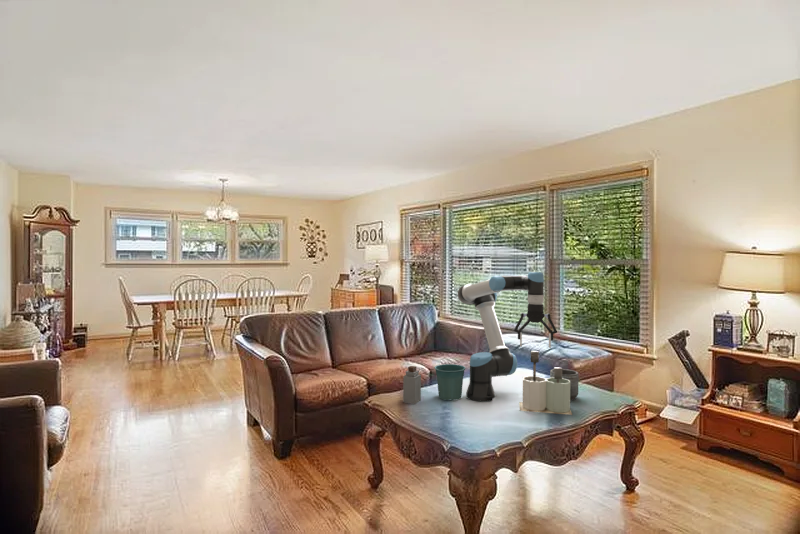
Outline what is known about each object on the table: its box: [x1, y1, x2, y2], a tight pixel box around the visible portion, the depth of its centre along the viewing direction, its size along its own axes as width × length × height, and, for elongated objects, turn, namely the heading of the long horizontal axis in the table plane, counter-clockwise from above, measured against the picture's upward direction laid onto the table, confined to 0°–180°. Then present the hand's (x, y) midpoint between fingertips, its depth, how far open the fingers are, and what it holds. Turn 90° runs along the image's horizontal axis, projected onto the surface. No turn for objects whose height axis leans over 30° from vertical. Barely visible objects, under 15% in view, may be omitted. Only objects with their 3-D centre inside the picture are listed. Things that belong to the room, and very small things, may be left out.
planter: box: [549, 368, 580, 402], centre depth 248 cm, size 14×14×15 cm
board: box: [518, 401, 573, 416], centre depth 231 cm, size 24×14×1 cm, turn 76°
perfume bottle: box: [402, 365, 422, 405], centre depth 244 cm, size 7×7×18 cm
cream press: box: [522, 375, 546, 411], centre depth 233 cm, size 11×14×14 cm
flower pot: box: [434, 363, 466, 401], centre depth 251 cm, size 16×16×16 cm
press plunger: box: [527, 350, 541, 382], centre depth 231 cm, size 8×8×15 cm
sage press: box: [545, 366, 571, 413], centre depth 231 cm, size 11×14×20 cm
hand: (535, 346), depth 231 cm, fingers open, 13 cm apart
